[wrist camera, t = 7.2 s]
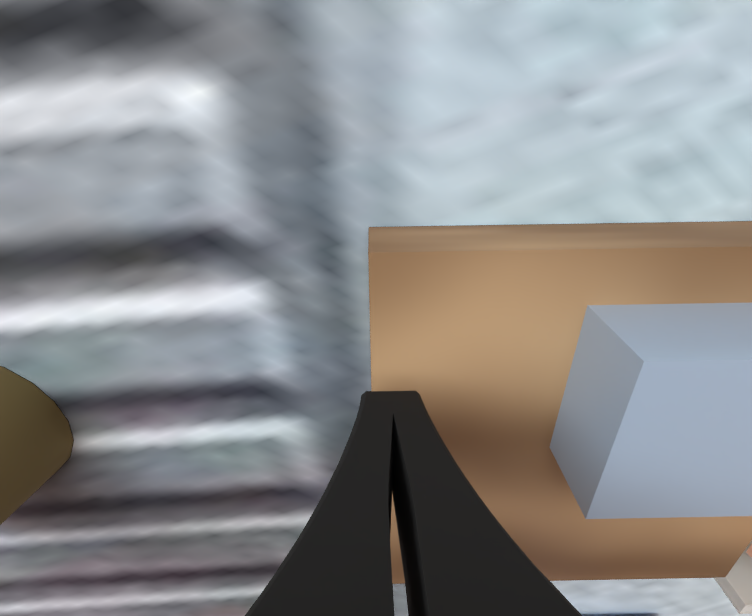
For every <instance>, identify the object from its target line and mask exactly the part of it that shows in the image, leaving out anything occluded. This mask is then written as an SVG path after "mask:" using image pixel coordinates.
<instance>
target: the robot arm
mask: <svg viewBox="0 0 752 616" xmlns="http://www.w3.org/2000/svg"><path fill="white" fill-rule="evenodd" d="M392 493H393V500H394V507H395V515H396V522H397V529H398V536H399V543H400V550H401V558H402V565H403V572H404V579H405V586H406V595H407V604H408V614H409V616H582V615H581V614H580V613H579V612H578V611H577V610H576V609H575V608H574V607H573V605H572V604H571V603H570V602H569V601H568V600H567V599H566V598H565V597H564V596H563V595H562V594H561V593H560V592H559V591H558V589H557V588H556V587H555V586H554V585H553V584H552V583H551V582H550V581H549V580H548V579H547V578H546V577H545V576H544V574H543V573H542V572H541V571H540V570H539V569H538V568H537V567H536V566H535V565H534V564H533V563H532V561H531V560H530V559H529V558H528V557H527V556H526V554H525V553H524V552H523V551H522V550H521V549H520V547H519V546H518V545H517V544H516V543H515V541H514V540H513V539H512V538H511V537H510V535H509V534H508V533H507V532H506V531H505V529H504V528H503V527H502V526H501V524H500V523H499V522H498V521H497V519H496V518H495V517H494V515H493V514H492V513H491V512H490V510H489V509H488V508H487V506H486V505H485V504H484V502H483V501H482V499H481V498H480V497H479V495H478V494H477V492H476V491H475V490H474V488H473V487H472V485H471V484H470V482H469V481H468V480H467V478H466V477H465V475H464V474H463V472H462V471H461V469H460V468H459V466H458V465H457V463H456V461H455V460H454V458H453V456H452V455H451V453H450V452H449V450H448V448H447V447H446V445H445V443H444V442H443V440H442V438H441V437H440V435H439V433H438V431H437V429H436V428H435V426H434V424H433V422H432V420H431V418H430V416H429V414H428V412H427V410H426V408H425V405H424V403H423V401H422V398H421V396H420V394H419V393H418V392H417V391H366V392H365V393H364V394H362V396H361V403H360V407H359V411H358V414H357V418H356V421H355V424H354V427H353V429H352V432H351V435H350V437H349V440H348V442H347V445H346V447H345V449H344V452H343V454H342V457H341V459H340V461H339V463H338V466H337V468H336V470H335V472H334V474H333V476H332V478H331V480H330V482H329V484H328V486H327V488H326V490H325V492H324V494H323V496H322V498H321V500H320V501H319V503H318V505H317V507H316V509H315V510H314V512H313V514H312V516H311V517H310V519H309V521H308V523H307V524H306V526H305V528H304V529H303V531H302V533H301V534H300V536H299V538H298V539H297V541H296V542H295V544H294V546H293V547H292V549H291V550H290V552H289V553H288V555H287V556H286V558H285V559H284V561H283V562H282V564H281V566H280V567H279V569H278V570H277V572H276V573H275V575H274V576H273V578H272V579H271V580H270V582H269V583H268V585H267V586H266V588H265V589H264V591H263V592H262V593H261V595H260V596H259V597H258V599H257V600H256V601H255V603H254V604H253V605H252V607H251V608H250V610H249V611H248V612H247V614H246V615H245V616H394V603H393V585H392V567H391V549H390V533H391V509H392Z"/></svg>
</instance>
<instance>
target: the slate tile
mask: <svg viewBox="0 0 752 616" xmlns="http://www.w3.org/2000/svg"><path fill="white" fill-rule="evenodd" d="M550 449H551V451H552V453H553V455H554V457H555V459H556V461H557V463H558V465H559V467H560V469H561V471H562V473H563V475H564V477H565V479H566V481H567V483H568V485H569V487H570V489H571V491H572V493H573V495H574V497H575V499H576V501H577V503H578V505H579V507H580V509H581V511H582V513H583V515H584V517H585V519H617V518H671V517H725V516H752V303H695V304H634V305H587V309H586V312H585V316H584V320H583V324H582V327H581V331H580V335H579V339H578V342H577V346H576V350H575V353H574V357H573V361H572V365H571V368H570V372H569V376H568V380H567V383H566V387H565V391H564V395H563V398H562V402H561V406H560V409H559V413H558V417H557V421H556V424H555V428H554V432H553V436H552V439H551V443H550Z"/></svg>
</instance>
